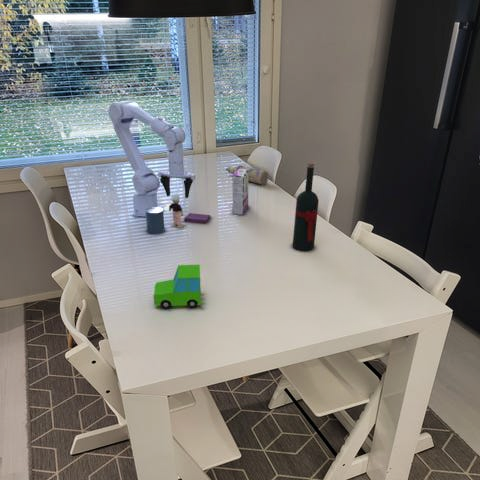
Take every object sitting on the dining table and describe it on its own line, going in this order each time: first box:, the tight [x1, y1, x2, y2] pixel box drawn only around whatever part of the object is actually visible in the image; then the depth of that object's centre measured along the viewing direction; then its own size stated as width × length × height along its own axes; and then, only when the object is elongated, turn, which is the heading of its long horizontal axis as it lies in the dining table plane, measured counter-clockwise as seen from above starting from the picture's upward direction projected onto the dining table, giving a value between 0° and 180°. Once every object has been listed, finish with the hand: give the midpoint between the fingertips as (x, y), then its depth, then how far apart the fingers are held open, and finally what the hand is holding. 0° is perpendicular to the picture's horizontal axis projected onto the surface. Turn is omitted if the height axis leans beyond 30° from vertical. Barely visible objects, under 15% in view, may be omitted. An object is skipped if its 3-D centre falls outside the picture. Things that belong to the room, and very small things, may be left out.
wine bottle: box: [292, 162, 320, 252], centre depth 167 cm, size 8×10×30 cm
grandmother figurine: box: [168, 193, 185, 229], centre depth 189 cm, size 8×4×13 cm, turn 63°
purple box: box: [183, 212, 211, 225], centre depth 198 cm, size 9×7×2 cm
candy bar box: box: [232, 169, 249, 216], centre depth 204 cm, size 11×5×16 cm, turn 168°
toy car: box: [153, 264, 202, 310], centre depth 139 cm, size 10×13×10 cm
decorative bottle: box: [225, 164, 269, 186], centre depth 246 cm, size 26×8×7 cm, turn 47°
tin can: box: [145, 206, 166, 235], centre depth 185 cm, size 7×7×8 cm
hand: (177, 196), depth 190 cm, fingers open, 7 cm apart
